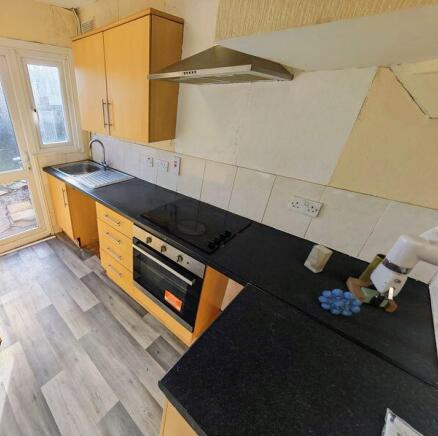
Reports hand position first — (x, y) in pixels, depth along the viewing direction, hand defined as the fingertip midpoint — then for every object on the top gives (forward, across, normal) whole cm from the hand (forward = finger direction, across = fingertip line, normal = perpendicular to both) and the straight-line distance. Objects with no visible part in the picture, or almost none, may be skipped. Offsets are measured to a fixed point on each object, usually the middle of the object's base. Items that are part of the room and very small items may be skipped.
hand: (371, 298), depth 93 cm
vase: (+1, +13, -4) cm, 14 cm away
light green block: (+1, 0, 0) cm, 1 cm away
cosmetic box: (+2, +13, +18) cm, 22 cm away
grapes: (+2, -13, +16) cm, 20 cm away
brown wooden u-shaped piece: (+1, +2, 0) cm, 3 cm away
